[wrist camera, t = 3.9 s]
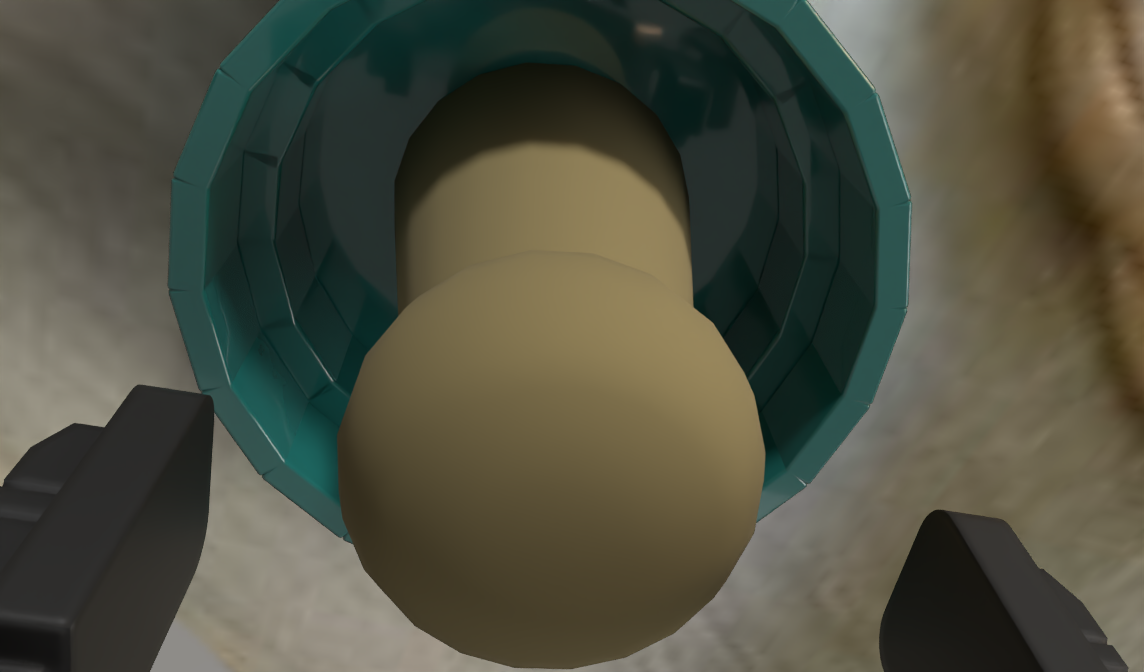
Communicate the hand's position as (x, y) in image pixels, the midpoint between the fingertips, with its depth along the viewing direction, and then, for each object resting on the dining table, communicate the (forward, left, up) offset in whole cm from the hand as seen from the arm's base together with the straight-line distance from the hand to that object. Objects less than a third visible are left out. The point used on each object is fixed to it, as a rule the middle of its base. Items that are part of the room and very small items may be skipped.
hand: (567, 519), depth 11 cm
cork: (0, 0, -11) cm, 11 cm away
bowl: (0, 0, -11) cm, 11 cm away
